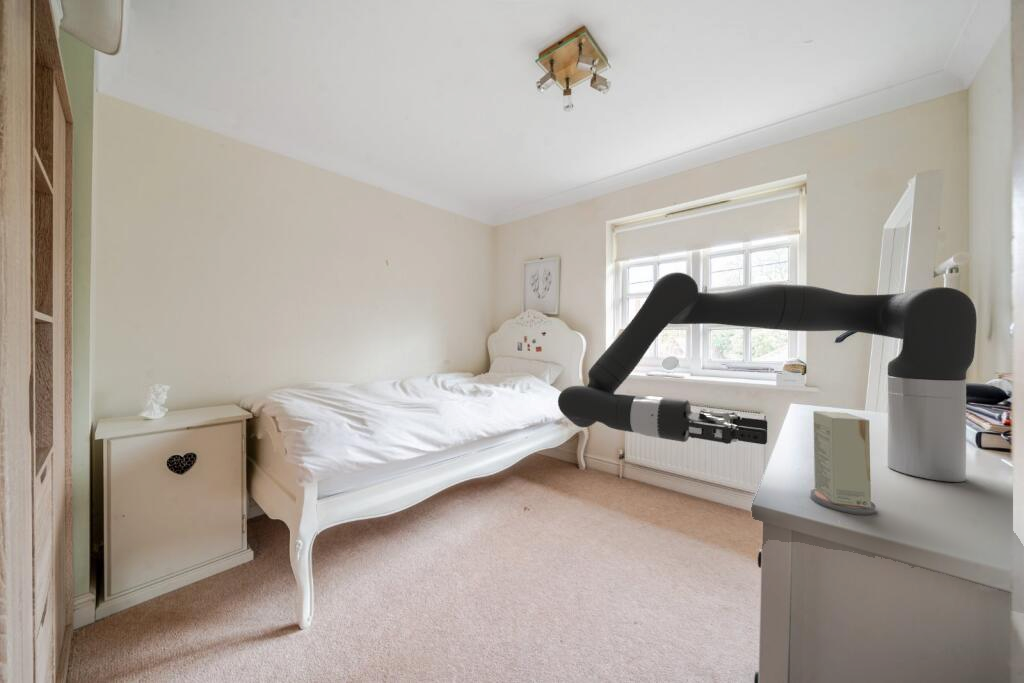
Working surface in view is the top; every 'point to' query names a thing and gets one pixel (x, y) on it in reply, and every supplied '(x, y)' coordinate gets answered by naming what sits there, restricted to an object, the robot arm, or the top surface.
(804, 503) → the top surface
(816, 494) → the tile
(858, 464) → the skincare box
